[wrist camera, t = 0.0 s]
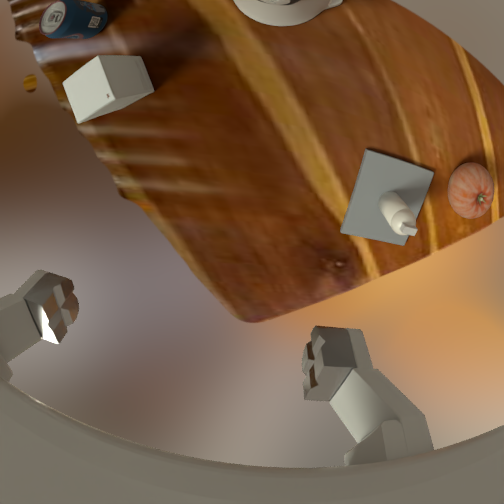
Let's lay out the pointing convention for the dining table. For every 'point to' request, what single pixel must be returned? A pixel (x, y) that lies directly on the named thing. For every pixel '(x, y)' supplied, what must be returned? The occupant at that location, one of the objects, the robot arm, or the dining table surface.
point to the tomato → (470, 190)
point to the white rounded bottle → (397, 213)
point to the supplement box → (107, 85)
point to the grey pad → (374, 185)
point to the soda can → (72, 19)
